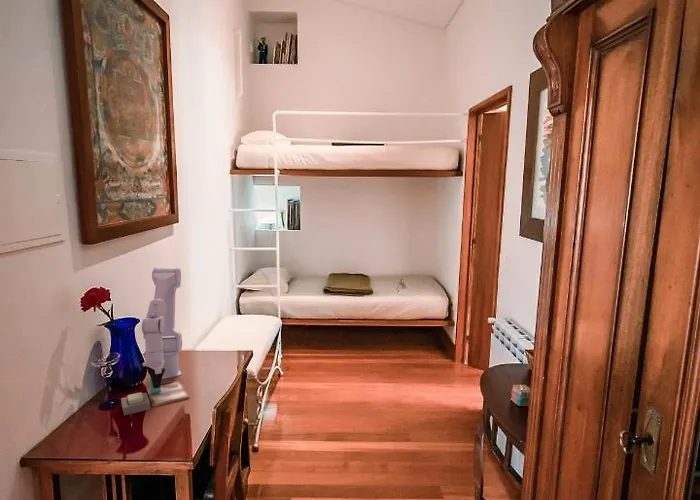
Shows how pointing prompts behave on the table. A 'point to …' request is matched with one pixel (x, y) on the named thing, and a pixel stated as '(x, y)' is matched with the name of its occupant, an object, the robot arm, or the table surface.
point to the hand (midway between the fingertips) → (156, 385)
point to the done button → (135, 398)
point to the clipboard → (168, 393)
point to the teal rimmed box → (153, 387)
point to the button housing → (135, 405)
